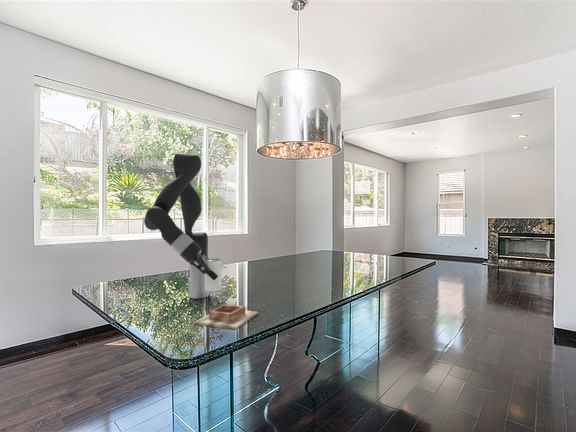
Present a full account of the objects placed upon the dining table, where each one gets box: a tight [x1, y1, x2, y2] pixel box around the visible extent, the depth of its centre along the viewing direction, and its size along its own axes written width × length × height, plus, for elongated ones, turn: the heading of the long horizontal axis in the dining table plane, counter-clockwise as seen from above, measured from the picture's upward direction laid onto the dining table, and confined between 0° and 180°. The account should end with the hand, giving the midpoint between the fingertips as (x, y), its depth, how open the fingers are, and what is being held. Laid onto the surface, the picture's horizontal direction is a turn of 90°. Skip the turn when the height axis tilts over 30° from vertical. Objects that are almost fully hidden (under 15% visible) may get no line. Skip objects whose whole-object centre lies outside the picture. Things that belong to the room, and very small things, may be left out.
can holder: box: [194, 303, 259, 330], centre depth 123 cm, size 18×18×4 cm
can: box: [205, 258, 223, 293], centre depth 120 cm, size 6×6×12 cm
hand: (217, 276), depth 121 cm, fingers closed on can, 6 cm apart
